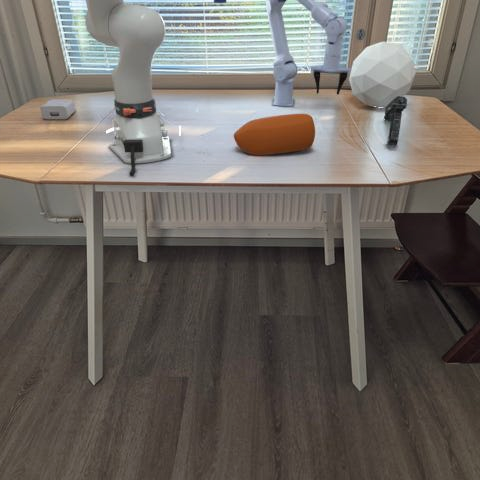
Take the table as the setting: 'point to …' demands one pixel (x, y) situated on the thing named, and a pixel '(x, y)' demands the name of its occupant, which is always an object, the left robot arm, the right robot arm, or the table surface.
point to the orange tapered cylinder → (276, 134)
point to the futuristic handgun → (395, 118)
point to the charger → (57, 109)
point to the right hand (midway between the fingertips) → (327, 93)
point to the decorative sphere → (381, 74)
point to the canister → (219, 1)
